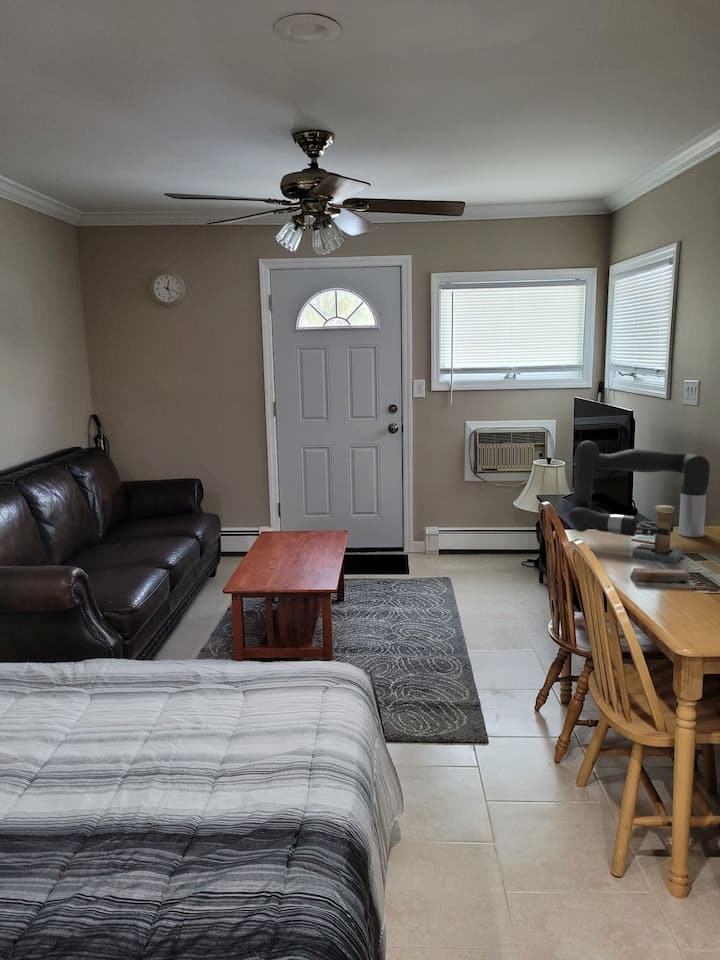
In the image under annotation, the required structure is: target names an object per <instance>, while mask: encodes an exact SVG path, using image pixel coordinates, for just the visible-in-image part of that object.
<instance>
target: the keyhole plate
mask: <svg viewBox="0 0 720 960" xmlns="http://www.w3.org/2000/svg"><path fill="white" fill-rule="evenodd" d="M654 550H655V545H652V544H644V543H641V544H640V545H637V546H635V547H633V549H632V555H631V556H632V558H633V559H639V558H640V560H646V559H648V560H647V561H652V560H656V561H655V562H659V561H663V562H662V563H666V562H669V563H668V564H672V563H675V562H676V561H677V560H678V559H679V558H680V559H681V558H683V556H684V555H683V553H684V549H681V548H674V547H670V551H669V554H664V553H657V552H654ZM680 559H679V560H680ZM679 560H678V561H679ZM678 561H677V562H678ZM677 562H676V563H677ZM676 563H675V564H676Z"/></svg>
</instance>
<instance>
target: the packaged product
mask: <svg viewBox="0 0 720 960" xmlns="http://www.w3.org/2000/svg"><path fill="white" fill-rule="evenodd" d="M630 578H631V579H630ZM629 579H630V581H631V582H632V581H633V582H634V583H633V582H632V583H633V584H635V585H634V586H635V587H636V586H646V587H645V588H656V587H659V589H660V588H662V589H690V590H691V589H696V584H695V583H694V582H693V581H692V580H690V579H691V575H690V573H689V571H686V570H684V569H670V568H669V569H666V568H665V569H664V568H644V567H643V568H642V567H635V568H633V569H632V572H630V574H629Z"/></svg>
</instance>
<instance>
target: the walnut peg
mask: <svg viewBox="0 0 720 960" xmlns="http://www.w3.org/2000/svg"><path fill="white" fill-rule="evenodd" d="M654 512H656V517H655V519H656V520H655V522H656V527H657V528H662V529H669V535H668V536H667V535H659V534H657V535H654V536H655V537H654V546H655V550H654V552H657V553H664V554H669V551H670V548H671V547H670V546H671V533H672V532H671V526H672V518H673V517H672V516H673V513H674V512H675V507H674V506H672V505H667V504H666V505H664V504H662V505H661V504H659V505H655V506H654Z"/></svg>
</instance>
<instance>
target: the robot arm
mask: <svg viewBox="0 0 720 960" xmlns="http://www.w3.org/2000/svg"><path fill="white" fill-rule="evenodd" d="M575 449H576V450H575V452H574V456H573V463H574V465H575V466H576V467H577V473H576V478H575V482H574V488H573V494H572V506H573V508H572V509H571V510H569V513H568V520H569V521H570V523H571V525H572V527H573V529H574V530H575V531H577V532H580V533H583V532H584V533H585V532H586V531H588V529H590V527H592V528H593V529H595V530H596V531H598V532H604V533H611V534H614V535H622V536H629V537H635V536H636V535H638V536H641V535H642V536H655V535H657V534H659V535H667V536H668V535H669V529H662V528H657V527H656V521H652V520H646V521H645V520H644V521H643V520H642V521H639V519H638V517H637V516H636V515H627V514H619V513H617V514H615V513H614V514H613V513H606V512H604V513H603V512H599V511H597V510H593V509H591V507H592V505H591V504H592V497H593V496H592V494H593V486H594V485H593V484H594V483H593V482H594V474H595V470H612V471H613V470H614V471H627V472H628V471H629V472H636V473H657V472H660V473H661V472H671V473H672V472H673V473H679V474H682V475H683V474H684V477H683V482H682V483H683V484H682V486H681V488H680V504H679V519H678V520H679V521H678V523H679V524H678V535H679V536H682V537H689V538H700V537H704V532H705V531H704V530H705V519H706V518H705V517H706V503H707V502H706V501H707V498H706V497H707V490H708V487H709V482H710V480H709V479H710V462H709V460H708V459H707V458H706V457H704V456H702V455H701V454H698V453H667V452H663V451H662V452H660V451H655V450H650V449H649V450H648V449H641V448H640V449H639V448H638V449H637V448H631V449H624V450H621V451H617V452H615V453H614V452H613V453H600V447H599V446H598V444H597V443H596V442H595V441H592V440H584V441H582V442H580V443H578V445H577V448H575ZM673 532H674V526H672V525H671V533H673Z"/></svg>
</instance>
